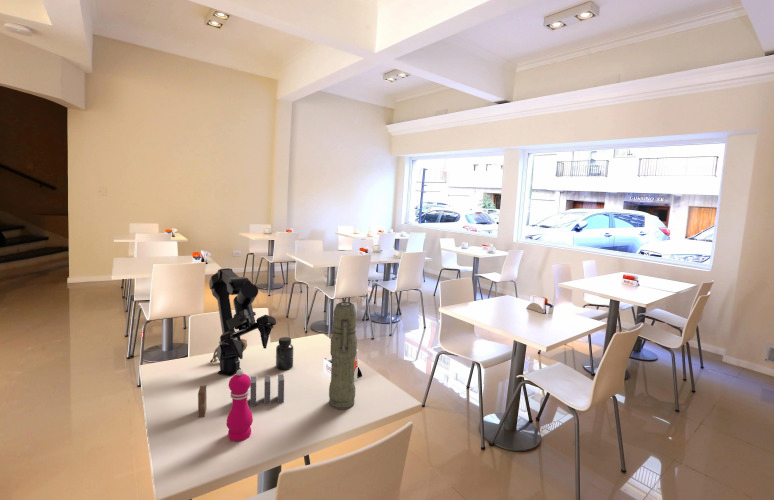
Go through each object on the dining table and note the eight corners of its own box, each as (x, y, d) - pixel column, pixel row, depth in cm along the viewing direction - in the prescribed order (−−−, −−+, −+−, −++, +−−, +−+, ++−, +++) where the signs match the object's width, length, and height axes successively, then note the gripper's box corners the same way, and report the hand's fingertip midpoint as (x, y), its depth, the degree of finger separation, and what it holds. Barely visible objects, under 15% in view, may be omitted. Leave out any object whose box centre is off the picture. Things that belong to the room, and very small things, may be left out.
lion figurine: (246, 356, 177) (246, 336, 176) (247, 361, 172) (248, 340, 171) (209, 361, 171) (209, 340, 170) (210, 365, 166) (209, 344, 165)
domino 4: (278, 403, 139) (278, 380, 138) (277, 396, 143) (278, 374, 142) (283, 402, 139) (284, 380, 138) (283, 395, 144) (283, 374, 143)
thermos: (351, 393, 148) (355, 299, 143) (357, 410, 136) (361, 308, 132) (327, 395, 145) (329, 299, 141) (330, 412, 134) (334, 308, 130)
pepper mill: (230, 428, 123) (230, 364, 120) (255, 428, 123) (255, 364, 121) (223, 442, 115) (222, 374, 113) (249, 442, 116) (249, 375, 114)
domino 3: (264, 404, 137) (264, 381, 136) (264, 397, 142) (264, 375, 141) (270, 404, 138) (270, 381, 137) (269, 397, 143) (270, 375, 142)
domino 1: (198, 417, 128) (198, 392, 127) (200, 409, 133) (200, 385, 132) (204, 416, 128) (204, 392, 127) (206, 408, 133) (206, 385, 132)
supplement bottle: (285, 362, 173) (285, 334, 171) (296, 366, 169) (297, 338, 167) (272, 367, 167) (272, 339, 166) (283, 372, 163) (283, 343, 162)
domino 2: (250, 405, 136) (250, 383, 135) (250, 398, 141) (250, 376, 140) (256, 405, 137) (256, 382, 136) (256, 398, 141) (256, 376, 140)
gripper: (205, 317, 137) (213, 362, 130) (253, 295, 134) (263, 339, 128) (227, 322, 147) (234, 364, 140) (272, 302, 144) (282, 344, 138)
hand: (253, 353), depth 136 cm, fingers open, 9 cm apart
